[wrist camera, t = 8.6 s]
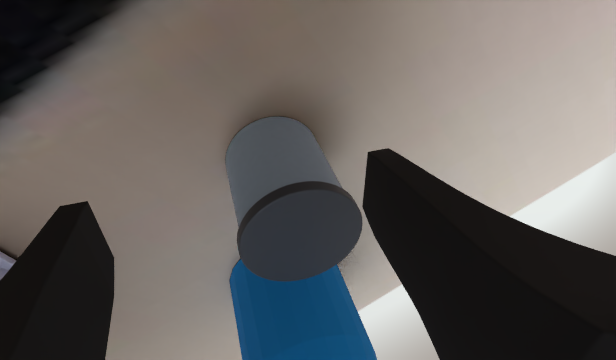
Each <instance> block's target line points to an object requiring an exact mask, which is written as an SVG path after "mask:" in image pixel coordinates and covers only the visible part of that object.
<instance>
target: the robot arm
mask: <svg viewBox="0 0 616 360" xmlns="http://www.w3.org/2000/svg"><path fill="white" fill-rule="evenodd" d="M363 209H364V212H365V214H366V217H367V219H368V222H369V224H370V227H371V229H372V231H373V234H374V236H375V238H376V240H377V242H378V243H379V245H380V247H381V249H382V250H383V252H384V254H385V255H386V257H387V259H388V261H389V262H390V264H391V266H392V267H393V269H394V271H395V273H396V274H397V276H398V278H399V279H400V281H401V283H402V284H403V286H404V288H405V290H406V291H407V293H408V295H409V296H410V298H411V300H412V301H413V303H414V305H415V307H416V309H417V311H418V312H419V315H420V317H421V319H422V321H423V323H424V325H425V328H426V330H427V332H428V334H429V336H430V338H431V341H432V343H433V345H434V347H435V350H436V352H437V354H438V356H439V359H440V360H616V256H614V255H611V254H607V253H604V252H601V251H597V250H594V249H591V248H588V247H585V246H582V245H579V244H576V243H573V242H571V241H568V240H565V239H563V238H560V237H557V236H554V235H552V234H549V233H546V232H544V231H541V230H539V229H536V228H534V227H531V226H529V225H527V224H524V223H522V222H520V221H518V220H516V219H513V218H511V217H509V216H507V215H504V214H502V213H500V212H498V211H496V210H494V209H492V208H490V207H488V206H486V205H484V204H482V203H480V202H479V201H477V200H475V199H473V198H471V197H469V196H467V195H465V194H464V193H462V192H460V191H458V190H457V189H455V188H453V187H451V186H450V185H448V184H446V183H445V182H443V181H441V180H440V179H438V178H436V177H435V176H433V175H431V174H430V173H428V172H427V171H425V170H423V169H422V168H420V167H419V166H417V165H415V164H414V163H412V162H411V161H409V160H407V159H406V158H404V157H403V156H401V155H399V154H398V153H396V152H394V151H392V150H391V149H389V148H388V149H382V150H376V151H371V152H368V157H367V167H366V177H365V187H364V197H363ZM113 299H114V257H113V255H112V252H111V250H110V248H109V246H108V244H107V242H106V240H105V237H104V235H103V233H102V231H101V229H100V227H99V225H98V223H97V220H96V218H95V216H94V214H93V212H92V210H91V208H90V205H89V203H88V201H86V202H81V203H75V204H69V205H64V206H60V207H59V208H58V209H57V210H56V212H55V213H54V214H53V215H52V217H51V218H50V219H49V220H48V222H47V223H46V224H45V226H44V227H43V228H42V229H41V231H40V232H39V233H38V234H37V236H36V237H35V238H34V240H33V241H32V242H31V243H30V245H29V246H28V247H27V248H26V250H25V251H24V252H23V253H22V255H21V256H20V257H19V258H18V260H17V261H16V260H14V259H12V258H11V257H9V256H7V255H5V254H4V253H2V252H0V360H105V356H106V349H107V342H108V335H109V328H110V321H111V314H112V307H113Z"/></svg>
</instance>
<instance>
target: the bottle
mask: <svg viewBox="0 0 616 360" xmlns="http://www.w3.org/2000/svg"><path fill="white" fill-rule="evenodd" d="M230 287H231V293H232V299H233V305H234V311H235V317H236V323H237V329H238V336H239V342H240V348H241V354H242V360H377V358H376V354H375V351H374V349H373V347H372V344H371V342H370V340H369V337H368V335H367V333H366V330H365V328H364V326H363V324H362V321H361V319H360V316H359V314H358V312H357V310H356V307H355V305H354V303H353V300H352V298H351V296H350V293H349V291H348V289H347V286H346V284H345V282H344V279H343V277H342V275H341V273H340V270H339V268H338V266H337V264H336V265H335V266H334V267H332V268H330V269H329V270H327V271H325V272H323V273H321V274H318V275H316V276H313V277H310V278H307V279H302V280H297V281H287V282H282V281H272V280H268V279H264V278H261V277H259V276H257V275H255V274H254V273H252V272H251V271H250V270H249V269H248V268H247V267H246V266H245V265H244V264H243V262H242V260H241V259H240V260H239V262H238V263H237V264H236V266H235V267H234V268H233V270H232V274H231V277H230Z"/></svg>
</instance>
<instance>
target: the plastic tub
mask: <svg viewBox="0 0 616 360" xmlns="http://www.w3.org/2000/svg"><path fill="white" fill-rule="evenodd" d="M225 163H226V170H227V174H228V179H229V184H230V188H231V193H232V198H233V203H234V207H235V212H236V217H237V222H238V226H239V229H238V233H237V245H238V250H239V255H240V258H241V260H242V262H243V264H244V265H245V266H246V267H247V268H248V269H249V270H250V271H251V272H252V273H254V274H255V275H257V276H259V277H261V278H264V279H268V280H272V281H282V282H287V281H297V280H302V279H307V278H310V277H313V276H316V275H318V274H321V273H323V272H325V271H327V270H329V269H330V268H332V267H334V266H335V265H336V264H338V263H339V262H340V261H342V260H343V259H344V258H345V257H346V256H347V255H348V254H349V253H350V252H351V250H352V249H353V248H354V246H355V245H356V243H357V241H358V239H359V237H360V234H361V231H362V216H361V212H360V210H359V208H358V206H357V204H356V202H355V201H354V199H353V198H352V196H351V195H350V194H349V193H348V192H347V191H345V190H344V189H343V188H342V186H341V185H340V183H339V181H338V179H337V177H336V175H335V174H334V172H333V170H332V168H331V166H330V164H329V163H328V161H327V159H326V157H325V155H324V153H323V152H322V150H321V148H320V146H319V144H318V142H317V141H316V139H315V137H314V135H313V134H312V132H311V131H310V130H309V129H308V128H307V127H306V126H305V125H304V124H302V123H301V122H299V121H297V120H294V119H291V118H287V117H267V118H263V119H260V120H257V121H255V122H253V123H251V124H249V125H247V126H246V127H244V128H243V129H242V130H241V131H239V132H238V133H237V134H236V136H235V137H234V138H233V140H232V141H231V143H230V145H229V147H228V149H227V152H226V159H225Z"/></svg>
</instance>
